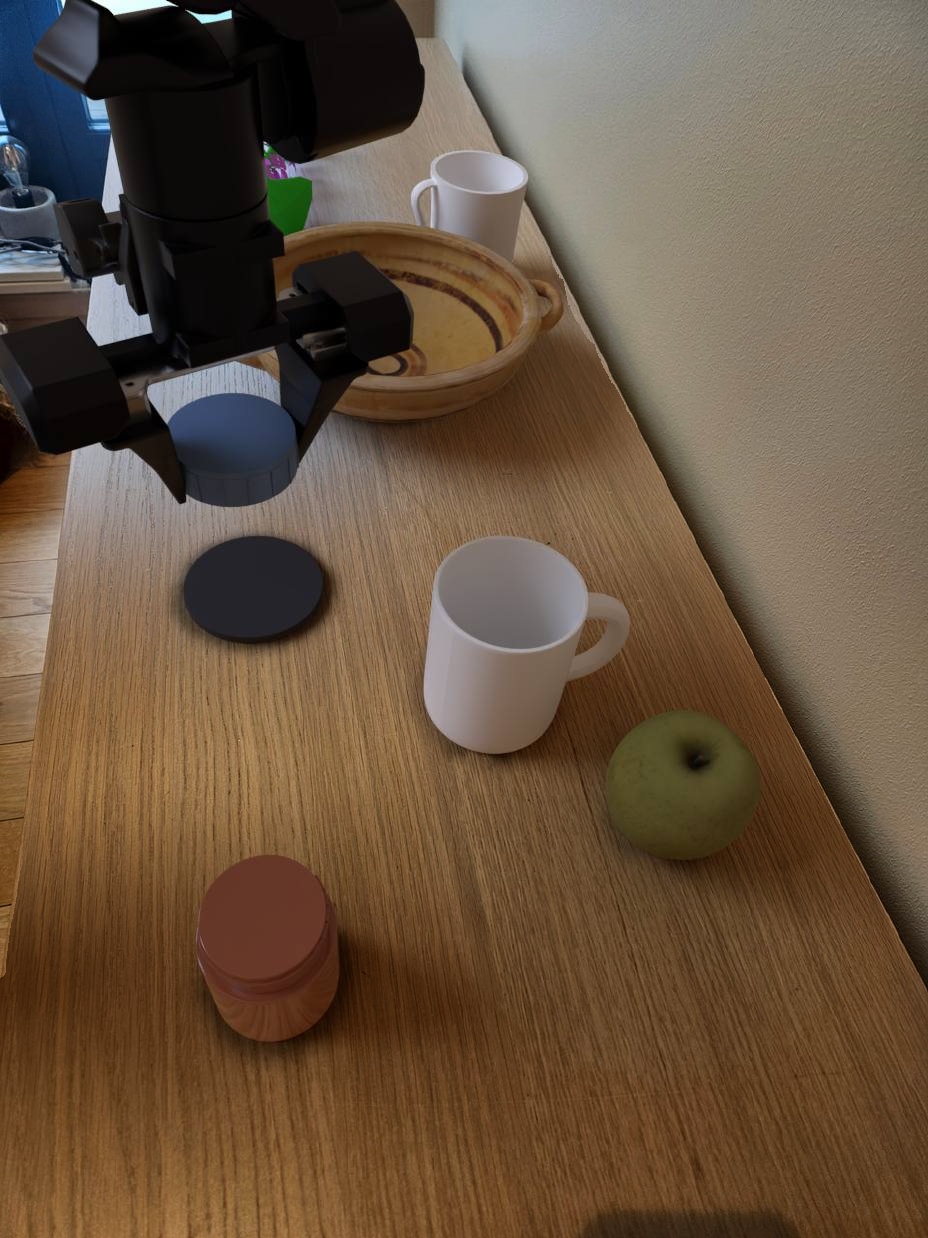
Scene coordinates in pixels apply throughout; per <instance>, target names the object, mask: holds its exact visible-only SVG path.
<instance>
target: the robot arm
mask: <svg viewBox="0 0 928 1238" xmlns="http://www.w3.org/2000/svg"><path fill="white" fill-rule="evenodd" d="M165 1H166V2H168V3H170V4H169V5H162V6H158V7H151V8H145V9H139V10H134V11H129V12H128V11H127V12H124V13H123V12H122V13H117V14H113V12H112V11H111V9H109V8H108V7H106V6H104V5H102V4H101V3H98V2H96V1H95V0H64V4H63V7H62V10H61V12H60V14H59V16H58V17H57V19H56V20H55V21H54V23H52V24H51V25H50V26H49V27H48V28H47V30H45V32H44V33H43V35H42V36H41V38H40V39H39V41H38V42H37V43H36V45H35V46H34V48H33V50H32V60H33V62H34V64H35V66H36V67H37V68H38V69H40V70H42V71H43V72H45V73H46V74H48V75H49V76H52V77H53V78H55V79H56V80H58V81H59V82H61V83H63V84H65V85H66V86H67V87H69V88H71V89H73V91H76V92H77V93H79V94H81V95H83V97H85V98H87V99H89V100H91V101H93V102H94V101H101V100H103V101H104V105H105V110H106V115H107V119H108V125H109V130H110V134H111V139H112V143H113V149H114V154H115V159H116V162H117V163H116V164H117V167H118V172H119V177H120V182H121V187H122V193H119V194H118V195H117V197H118V199H119V200H118V201H119V203H118V209H119V210H115V211H109V212H105V209H104V207H103V205H102V202H101V201H100V200H99V199H96V198H91V197H83V198H78V199H72V200H65V201H61V202H55V203H52V208H53V212H54V216H55V220H56V224H57V225H56V226H57V228H58V233H59V237H60V240H61V243H62V246H63V249H64V253H65V255H66V258H67V261H68V263H69V265H70V268H71V269H72V272H73V273H74V274H75V275H78V276H79V277H81V278H84V279H85V280H89V279H94V278H98V277H102V276H103V277H104V276H108V275H112V274H113V278H114V281H115V284H117V285H118V286H124V289H125V293H126V297H127V302H128V305H129V306H130V307H131V309H132V310H133V311H134V313H135V314H136V315H137V316H138V317H141V316H145V315H148V319H149V323H150V328H151V332H149V333H145V334H141V335H136V336H133V337H129V338H124V339H121V340H117V341H113V342H109V343H105V344H102V345H101V344H100V345H99V344H98V343H97V342H96V341H95V339H94V338H93V336H92V334H91V333H90V332H89V331H88V329H87V327H86V326H85V324H84V323H83V321H82V320H81V319H80V317H79V316H74V317H69V318H64V319H61V320H57V321H53V322H47V323H44V324H39V325H35V326H30V327H26V328H23V329H19V330H14V331H10V332H5V333H1V334H0V383H1V385H2V387H3V389H4V391H5V393H6V395H7V396H8V398H9V400H10V401H11V403H12V405H13V407H14V409H15V410H16V412H17V415H18V416H19V418H20V419H21V421H22V424H23V425H24V427H25V429H26V430H27V432H28V434H29V436H30V437H31V439H32V441H33V443H34V444H35V446H36V448H37V450H38V452H39V453H44V454H49V455H54V456H60V455H63V454H66V453H70V452H73V451H77V450H80V449H83V448H86V447H90V446H93V445H96V444H99V443H100V445H101V447H102V448H103V449H104V450H106V451H109V452H120V451H123V450H126V449H127V450H130V451H132V452H133V453H134V454H135V455H136V456H137V457H139V458H140V459H141V460H142V461H143V462H144V463H145V464H147V465H148V466H149V467H150V468H151V469H152V470H153V471H154V472H155V473H156V474H157V476H158V477H159V478H160V480H161V481H162V483H163V485H165V487H166V488H167V489H168V491H169V493H170V494H171V495H172V497H173V498H174V499H175V501H176V502H177V504H178V505H183V504H185V503H187V494H185V492H186V485H185V482H184V478H183V475H182V471H181V468H180V464H179V461H178V457H177V453H176V450H175V446H174V443H173V439H172V436H171V432H170V429H169V427H168V425H167V422H166V421H165V420H164V418H163V416H161V414H160V412H159V411H158V410H157V408H156V406H154V404H153V403H152V401H151V399H150V398H149V393H148V390H149V389H148V388H149V387H150V386H151V385H155V384H158V383H163V382H165V381H169V380H173V379H176V378H179V377H183V376H187V375H191V374H194V373H197V372H201V371H205V370H208V369H212V368H215V367H219V366H224V365H226V364H230V363H233V362H234V363H235V362H236V361H237V360H241V359H245V358H248V357H252V356H255V355H259V354H262V353H266V352H270V351H273V350H275V351H276V354H277V358H278V362H279V378H280V383H279V405H280V406H281V407H282V408H284V409H285V410H286V411H287V412H288V413H289V415H290V416H291V418H292V419H293V421H294V424H295V428H296V440H297V443H298V455H299V464H301V462H302V460H303V459H304V457H305V455H306V453H307V452H308V450H309V448H310V447H311V445H312V443H313V442H314V440H315V438H316V437H317V435H318V434H319V431H320V430H321V428H322V426H323V425H324V423H325V421H326V420H327V418H328V417H329V415H330V414H331V413H332V412H331V411H332V409H333V408H334V406H335V405H336V404H337V402H338V401H339V400H340V398H341V397H342V396H343V394H344V393H345V391H346V390H347V389H348V387H349V386H350V385H351V383H352V382H353V381H354V380H355V379H356V378H358V377H361V376H363V375H365V374H366V373H367V372H368V368H369V362H370V361H373V360H376V359H380V358H383V357H386V356H390V355H393V354H396V353H400V352H403V351H406V350H409V349H410V347H411V344H412V342H413V327H414V311H413V308H412V305H411V302H410V300H409V297H408V296H407V295H406V294H405V293H404V292H403V291H402V290H401V289H399V288H398V287H397V286H396V285H395V284H394V283H393V282H392V281H391V280H390V279H389V278H387V277H386V276H385V275H384V274H383V273H382V272H381V271H380V270H379V269H378V268H377V267H375V266H374V265H373V264H372V263H371V262H370V261H369V260H368V259H367V258H365V257H364V256H363V255H362V254H361V253H360V252H359V251H353V252H348V253H344V254H340V255H336V256H331V257H327V258H323V259H319V260H314V261H310V262H306V263H302V264H299V265H298V266H297V267H296V268H295V269H294V271H293V272H292V286H293V287H291V288H287V289H284V290H282V291H280V293H279V298H278V299H276V288H275V276H274V263H273V258H278V257H282V256H285V248H284V233H283V232H282V231H281V230H280V229H279V228H278V227H277V226H276V225H275V224H274V223H273V222H272V221H271V220H270V214H269V202H268V190H267V178H266V166H265V153H264V149H265V145H264V143H265V144H266V143H268V144H269V145H270V146H271V148H272V149H273V150H274V151H275V152H277V153H278V154H279V155H280V156H281V157H282V159H285V160H286V161H287V162H288V163H290V162H292V163H295V164H298V165H302V164H306V163H310V162H314V161H316V160H320V159H323V158H326V157H330V156H333V155H336V154H339V153H342V152H345V151H348V150H351V149H355V148H358V147H362V146H364V145H367V144H371V143H373V142H377V141H380V140H383V139H387V138H389V137H393V136H396V135H398V134H402V133H404V132H405V131H407V130H408V129H409V128H411V126H412V125H413V123H414V122H415V121H416V119H417V118H418V116H419V113H420V110H421V107H422V104H423V102H424V94H425V88H426V70H425V67H424V65H423V64H422V62H421V57H420V50H419V47H418V44H417V39H416V37H415V32H414V31H413V28H412V26H411V24H410V22H409V20H408V17H407V15H406V13H405V12H404V10H403V9H402V7H401V6H400V5H399V3H398V2H397V0H165ZM227 12H231V14H230V15H231V17H230V18H225V19H220V20H215V21H209V22H203V23H202V21H200V19H198V18H197V17H196V16H195V15H202V16H205V15H206V16H209V15H210V16H218V15H221V14H224V13H227ZM194 14H195V15H194Z"/></svg>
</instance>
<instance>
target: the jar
mask: <svg viewBox="0 0 928 1238" xmlns="http://www.w3.org/2000/svg"><path fill="white" fill-rule="evenodd" d="M337 919H338V918H337V914H336V910H335V907H334V904H333V902H332V899H331V898H330V896H329V894H328V893H327V891H326V886H325V885H324V884H323V882H322V881H321V878H320V876H319V875H318V874H314V873H313V872H312V871H311V870H310V869H309V868H308V867H306V866H305V865H304V864H302V863H301V862H299V861H298V860H296V859H293V858H290V857H287V856H283V855H277V854H262V855H260V854H259V855H254V856H251V857H248V858H244V859H242V860H240V861H238V862H236V863H234V864H233V865H231V866H229V867H228V868H226V869H225V870H224V871H223V872H222V873H220V875H219V876H217V877H216V879H214V881H213V882H212V883H211V884H210V886H209V887H208V888H207V890H206V892H205V894H204V896H203V898H202V901H201V904H200V907H199V910H198V917H197V924H196V925H197V926H196V930H195V935H194V936H195V937H194V947H195V948H194V949H195V955H196V956H195V957H196V960H197V963H198V967H199V968H200V971H201V973H202V976H203V978H204V980H205V984H206V985H207V987H208V989H209V993H210V995H211V996H212V999H213V1001H214V1003H215V1006H216V1008H217V1010H218V1012H219V1014H220V1016H221V1018H222V1019H223V1020H224V1021H225V1023H226V1024H227V1025H228V1026H229V1027H230V1028H231V1029H232V1030H233V1031H234V1032H236V1033H238V1034H239V1035H241V1036H243V1037H245V1038H247V1039H250V1040H254V1041H257V1042H264V1043H267V1042H269V1043H270V1042H271V1043H273V1042H281V1041H285V1040H289V1039H292V1038H295V1037H297V1036H300V1035H301V1034H302V1033H305V1032H306V1031H308V1030H309V1029H310V1028H311V1027H313V1026H314V1025H315V1024H317V1023H318V1021H320V1020H321V1018H323V1016H324V1015H325V1014H326V1012H327V1010H328V1009H329V1007H330V1006H331V1004H332V1002H333V1000H334V998H335V996H336V992H337V989H338V986H339V980H340V959H339V955H340V954H339V939H338V936H339V935H338V920H337Z"/></svg>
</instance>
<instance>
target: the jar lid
mask: <svg viewBox="0 0 928 1238" xmlns="http://www.w3.org/2000/svg"><path fill="white" fill-rule="evenodd" d="M166 424H167V425H168V427H169V429H170V432H171V436H172V439H173V443H174V446H175V450H176V453H177V457H178V461H179V464H180V468H181V471H182V475H183V478H184V482H185V485H186V492H185V494H186V496H188V497H189V498H191V499H193V500H195V501H197V502H199V503H203V504H205V505H209V506H213V507H220V508H242V507H249V506H254V505H258V504H261V503H264V502H267V501H269V500H271V499H273V498H275V497H277V496H278V495H280V494H282V493H283V492H284V491H285V490H286V489H287V488H288V487H289V486H290V485H291V484H292V483H293V481H294V480H295V477H296V475H297V473H298V469H300V463H299V455H298V443H297V440H296V428H295V424H294V421H293V419H292V418H291V416H290V415H289V413H288V412H287V411H286V410H285V409H284V408H282V407H281V406H280V404H278V403H276V402H275V401H273V400H270V399H268V398H265V397H262V396H259V395H256V394H251V393H241V392H223V393H216V394H211V395H206V396H203V397H200V398H197V399H195V400H192V401H190V402H188V403H187V404H185V405H183V406H182V407H180V408H179V409H178V410H176V412H175V413H173V414H172V415H171V417H170V418H169V420H168V421H167V422H166Z"/></svg>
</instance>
